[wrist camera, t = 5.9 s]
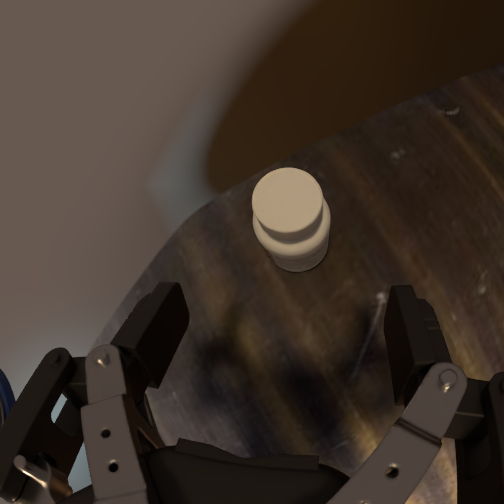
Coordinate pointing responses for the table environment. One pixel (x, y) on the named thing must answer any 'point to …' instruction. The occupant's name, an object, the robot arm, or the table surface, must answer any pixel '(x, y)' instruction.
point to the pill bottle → (291, 219)
